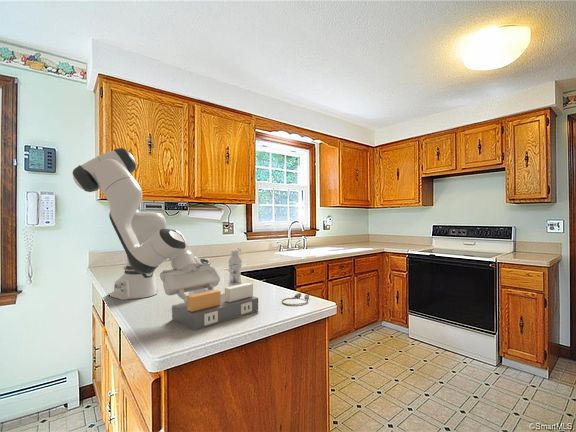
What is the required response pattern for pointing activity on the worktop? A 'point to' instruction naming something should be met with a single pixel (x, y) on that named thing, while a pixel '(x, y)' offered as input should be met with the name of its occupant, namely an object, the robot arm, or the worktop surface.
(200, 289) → the jar
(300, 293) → the extension cord
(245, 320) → the worktop surface
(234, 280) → the plastic bottle
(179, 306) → the switch box
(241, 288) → the white switch
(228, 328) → the worktop surface
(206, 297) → the orange switch
